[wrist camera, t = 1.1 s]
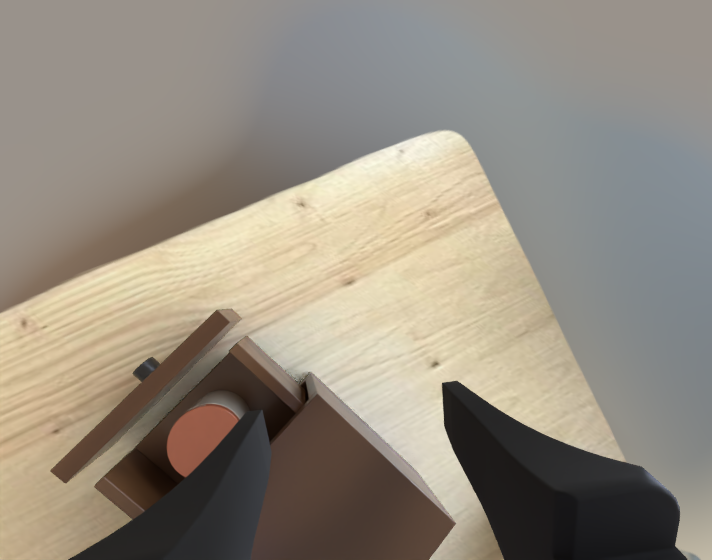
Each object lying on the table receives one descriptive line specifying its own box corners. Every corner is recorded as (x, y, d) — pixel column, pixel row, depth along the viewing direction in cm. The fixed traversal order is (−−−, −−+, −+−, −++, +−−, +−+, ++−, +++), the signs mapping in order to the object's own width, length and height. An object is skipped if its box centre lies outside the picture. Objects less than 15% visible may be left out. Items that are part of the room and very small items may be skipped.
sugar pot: (219, 465, 27) (205, 496, 23) (172, 424, 26) (149, 448, 22) (264, 417, 28) (259, 438, 23) (219, 377, 27) (206, 390, 23)
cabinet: (184, 508, 28) (145, 581, 21) (311, 371, 31) (317, 393, 23) (305, 611, 29) (309, 717, 22) (417, 472, 32) (456, 523, 24)
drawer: (88, 424, 26) (33, 458, 21) (220, 298, 29) (203, 297, 23) (222, 539, 28) (204, 600, 22) (338, 408, 30) (349, 433, 24)
